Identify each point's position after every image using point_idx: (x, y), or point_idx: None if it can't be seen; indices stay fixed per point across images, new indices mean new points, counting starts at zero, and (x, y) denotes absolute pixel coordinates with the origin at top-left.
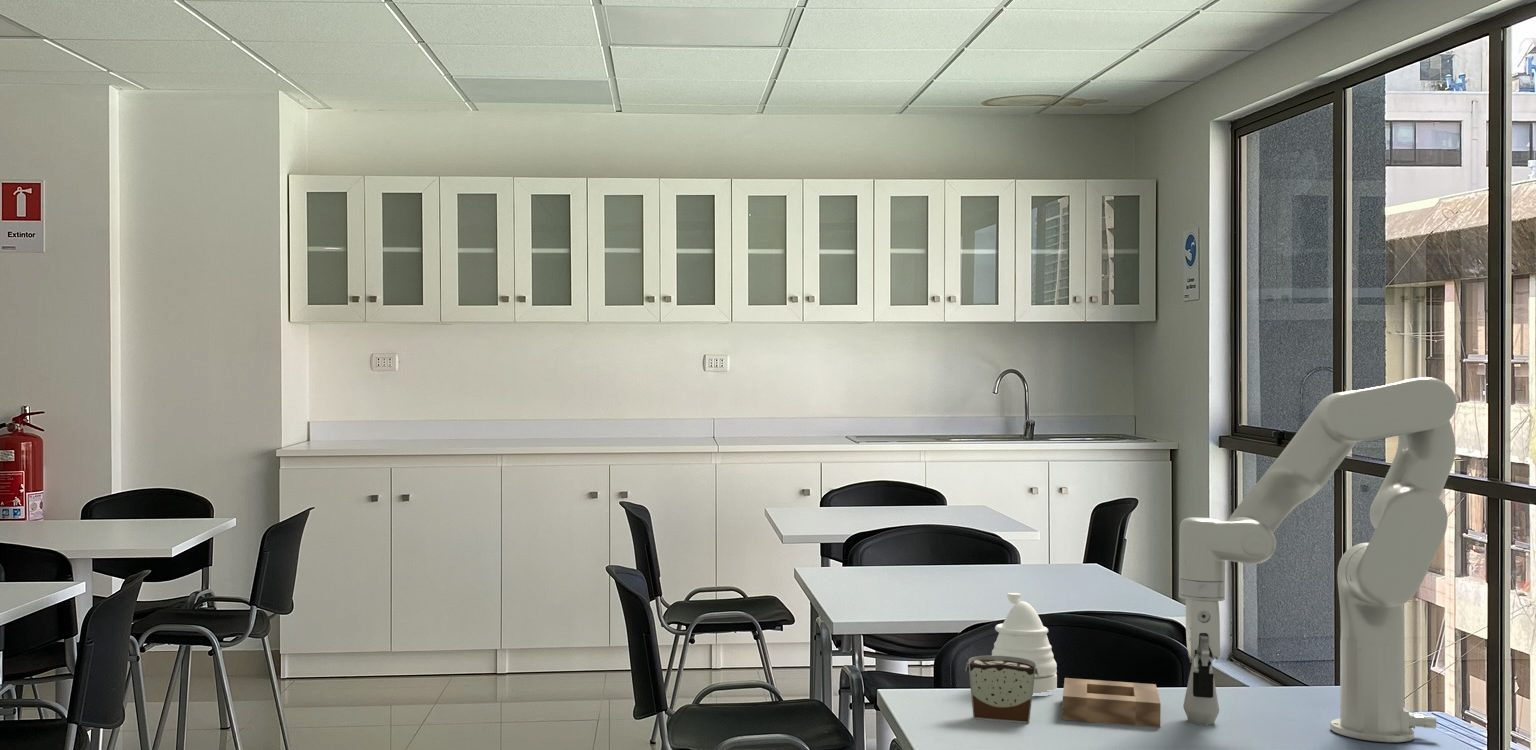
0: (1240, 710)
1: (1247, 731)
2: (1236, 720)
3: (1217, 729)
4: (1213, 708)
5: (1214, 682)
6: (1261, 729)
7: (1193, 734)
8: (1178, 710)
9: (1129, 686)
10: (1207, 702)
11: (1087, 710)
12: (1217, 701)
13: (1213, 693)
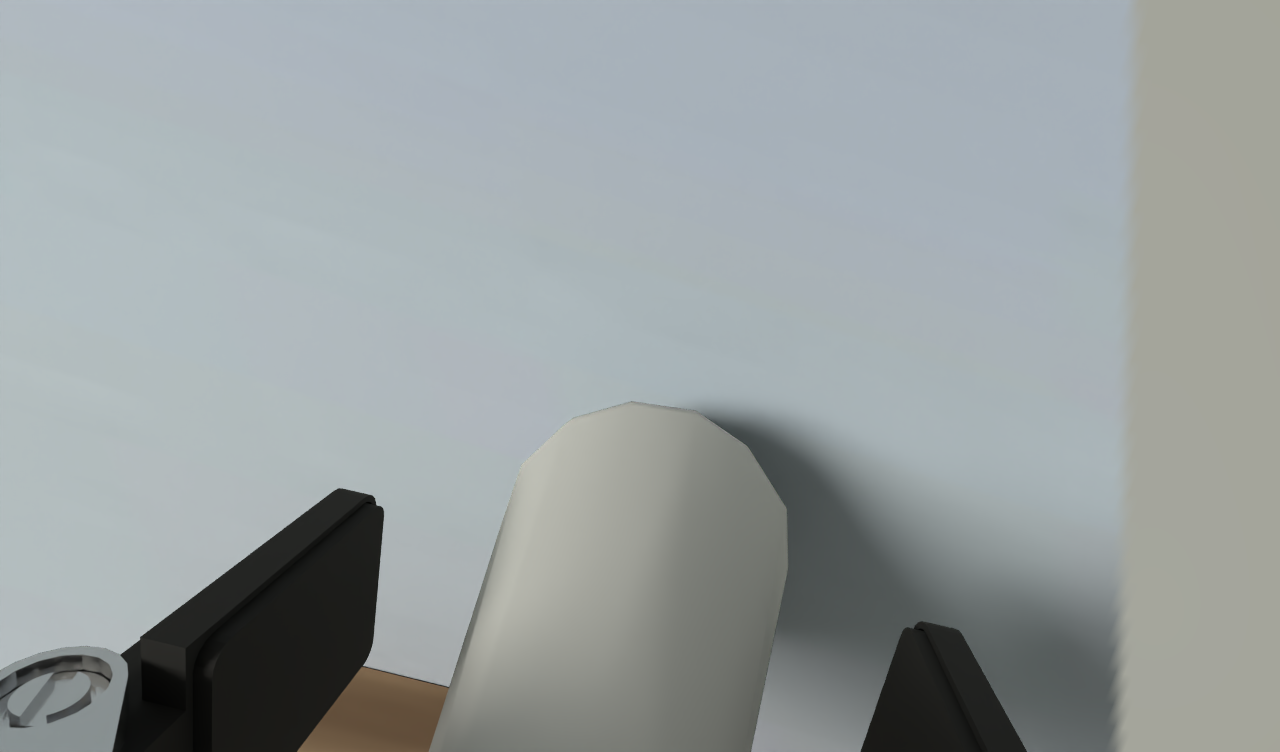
0: (183, 56)
1: (920, 230)
2: (549, 203)
3: (869, 445)
4: (771, 496)
5: (662, 582)
6: (840, 82)
7: (1030, 651)
8: None
9: None
10: (779, 575)
11: None
12: (698, 460)
13: (735, 550)
